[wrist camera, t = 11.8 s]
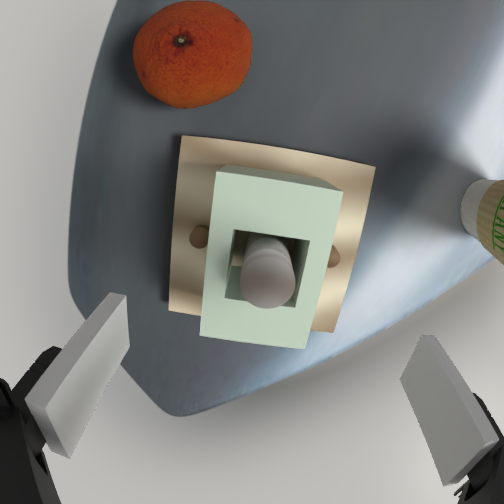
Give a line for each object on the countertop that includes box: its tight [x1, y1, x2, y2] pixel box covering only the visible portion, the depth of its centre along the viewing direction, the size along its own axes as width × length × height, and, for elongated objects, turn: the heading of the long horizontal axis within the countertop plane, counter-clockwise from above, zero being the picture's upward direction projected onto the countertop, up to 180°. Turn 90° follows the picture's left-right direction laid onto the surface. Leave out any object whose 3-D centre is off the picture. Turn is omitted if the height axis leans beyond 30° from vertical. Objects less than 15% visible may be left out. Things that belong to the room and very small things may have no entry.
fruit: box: [133, 1, 252, 109], centre depth 19 cm, size 9×9×8 cm
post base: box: [169, 135, 376, 333], centre depth 24 cm, size 16×16×10 cm
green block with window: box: [200, 164, 343, 349], centre depth 24 cm, size 12×8×6 cm, turn 172°
